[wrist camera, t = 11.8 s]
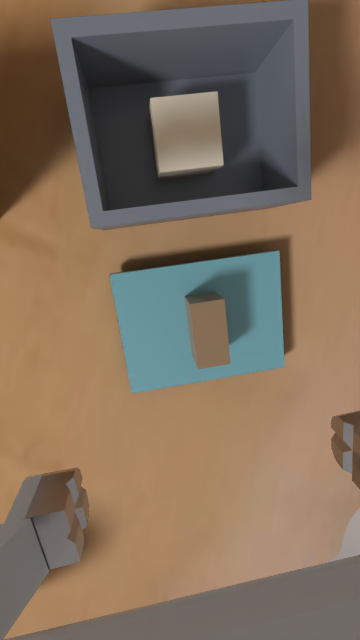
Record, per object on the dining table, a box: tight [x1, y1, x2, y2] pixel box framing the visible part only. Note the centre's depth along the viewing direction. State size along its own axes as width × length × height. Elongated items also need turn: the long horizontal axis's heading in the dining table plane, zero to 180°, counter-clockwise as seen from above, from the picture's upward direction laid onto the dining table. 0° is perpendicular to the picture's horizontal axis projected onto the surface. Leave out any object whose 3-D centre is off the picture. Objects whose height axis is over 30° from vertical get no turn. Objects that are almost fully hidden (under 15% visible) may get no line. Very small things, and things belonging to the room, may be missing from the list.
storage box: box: [50, 0, 311, 230], centre depth 25 cm, size 12×16×8 cm
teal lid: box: [110, 250, 284, 393], centre depth 31 cm, size 12×16×6 cm
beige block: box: [149, 91, 224, 181], centre depth 26 cm, size 5×5×4 cm
